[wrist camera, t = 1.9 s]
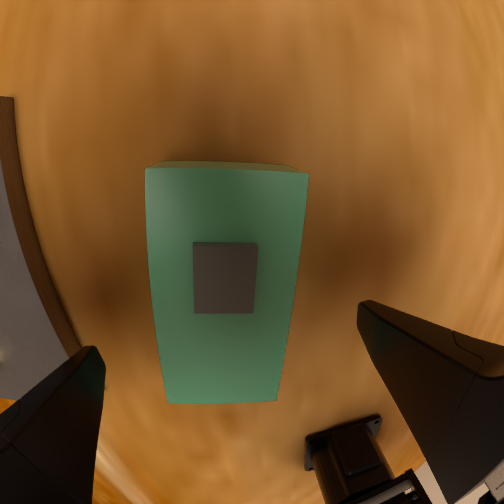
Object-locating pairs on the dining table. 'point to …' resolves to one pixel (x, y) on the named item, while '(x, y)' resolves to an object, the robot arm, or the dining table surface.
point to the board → (223, 275)
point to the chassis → (25, 283)
